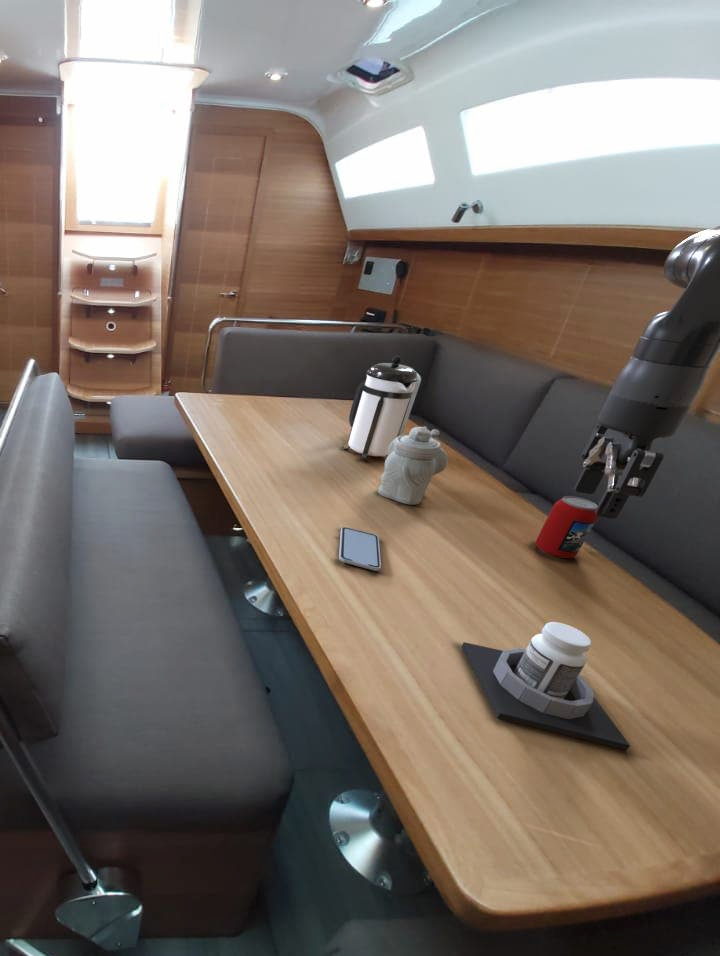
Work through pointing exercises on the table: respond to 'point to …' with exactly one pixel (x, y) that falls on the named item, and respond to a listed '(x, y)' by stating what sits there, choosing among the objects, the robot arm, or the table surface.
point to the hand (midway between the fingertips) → (593, 503)
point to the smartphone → (359, 548)
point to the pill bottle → (554, 659)
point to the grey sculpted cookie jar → (412, 465)
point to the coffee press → (380, 407)
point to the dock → (533, 717)
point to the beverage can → (567, 527)
